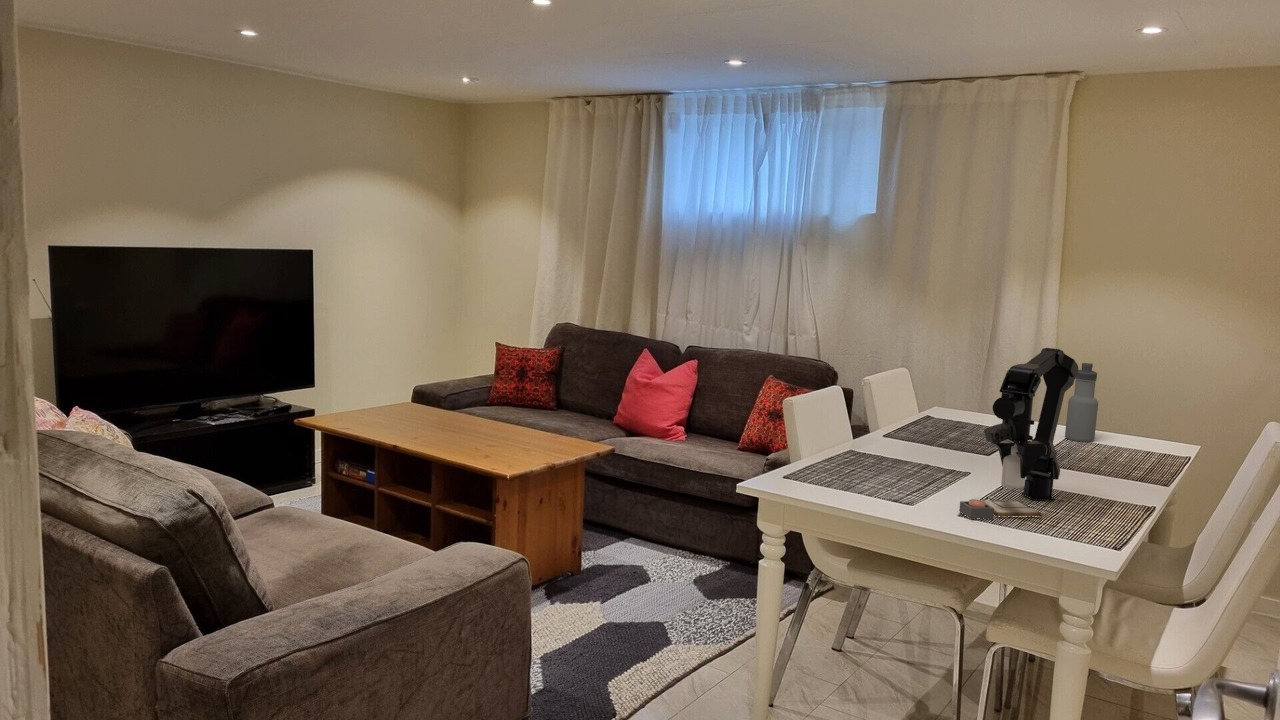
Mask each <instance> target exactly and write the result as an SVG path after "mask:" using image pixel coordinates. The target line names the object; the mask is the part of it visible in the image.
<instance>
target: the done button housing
mask: <svg viewBox="0 0 1280 720" xmlns="http://www.w3.org/2000/svg"><path fill="white" fill-rule="evenodd" d="M958 509H959V511H960V512H962V513H963V514H965V515H966V516H968V517H969V518H971V519H973V518H975V519H977V518H980V519H983V518H985V519H988V518H989V519H993V520H994V516H993V513H994V508H993V507H991V506H989V505H988V504H986V503H985V508H973V507H971V506H969V500H968V501H967V500H966V501H964V500H961V501H960V502H959V508H958ZM959 511H958V512H959Z"/></svg>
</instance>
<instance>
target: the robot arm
mask: <svg viewBox="0 0 1280 720" xmlns="http://www.w3.org/2000/svg"><path fill="white" fill-rule="evenodd" d="M1079 370H1080V369H1079V365H1078V363H1077V362H1076V360H1075V359H1074V358H1072V357H1071V356H1069V355H1067V354H1066V353H1065V352H1064V351H1063V350H1062V349H1060V348H1055V347H1054V348H1053V347H1052V348H1051V347H1044V348H1042V349H1041V350H1040V352H1039V353H1038V354H1037V355H1035V356H1034V357H1033V358H1031V359H1030V360H1029V361H1027V362H1025V363H1018V364H1017V363H1016V364H1015V365H1012V366H1010V368H1009V369H1008V370H1007V371H1006V373H1005V376H1004V378H1003V381H1002V383H1001V386H1000V389H999V393H1001V397H999V398H997V399H995V400H994V402H993V404H992V412H993V414H994V416H995V417H996V418H998V419H999V420H1001V421H1002V423H998V424H994V425H992V426H988V427H987V428H984V429H983V432H984V436H985V440H986V442H988V443H991V444H992V445H994V446H995V447H996V448H997V449H998V453H999V454H998V455H999V457H1000V462H1001V466H1002V468H1003V460H1004V457H1006V456H1008V455H1011V447H1012V446H1014V445H1015V443H1016V445H1017V450H1018V452H1016V454H1017V455H1018V456H1019V458H1020V476H1021V478H1025V486H1024V488H1023V491H1021V493H1022V494H1021V495H1023V494H1024V495H1026V496H1028V497H1030V498H1032V499H1035V500H1034V501H1055V500H1056V498H1055V497H1054V496H1053V488H1054V481H1055V480H1059V477H1060V474H1061V468H1060V465H1059V462H1058V460H1057V455H1058V453H1057V450H1056V448H1055V445H1054V440H1055V436H1056V431H1057V427H1058V422H1059V419H1060V414H1061V411H1062V405H1063V402H1064V397H1065V393H1066V392H1067V391H1068V390H1069V389H1070V388H1071V387H1072V386H1073V385H1075V381H1076V379H1075V377H1077V375H1078V371H1079ZM1041 377H1042V379H1043V381H1044V384H1045V387H1046V389H1045V394H1044V397H1043V401H1042V407H1041V410H1040V415H1039V419H1038V424H1037V427H1036V432H1035V436H1033V435H1031V426H1033V425H1035V420H1033V419H1032V412H1033V402H1034V398H1035V397H1036V392H1037V390H1038V388H1039V386H1040V384H1041V381H1042V379H1041ZM1024 495H1023V496H1024ZM1026 496H1025V497H1026ZM1028 497H1027V498H1028ZM1030 498H1029V499H1030ZM1032 499H1031V500H1032ZM1036 499H1037V500H1036Z"/></svg>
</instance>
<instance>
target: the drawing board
mask: <svg viewBox="0 0 1280 720" xmlns="http://www.w3.org/2000/svg"><path fill="white" fill-rule="evenodd" d="M983 501H984V502H985V503H986V504H988V505H989V506H991V507H993V508H994V513H993V514H994V515H995V516H1000V517H1002V516H1007V517H1008V516H1041V517H1042V512H1040V511H1038V510H1037V509H1034V508H1032V507H1031V506H1030V505H1027V504H1026V503H1024V502H1022V501H1020V500H983ZM995 516H994V517H995Z"/></svg>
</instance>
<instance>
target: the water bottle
mask: <svg viewBox="0 0 1280 720" xmlns="http://www.w3.org/2000/svg"><path fill="white" fill-rule="evenodd" d="M1093 367H1094V364H1093V363H1089V362H1088V363H1087V362H1082V363H1081V369H1079V371H1078V375H1077V377H1075V380H1074V392H1073V395H1072V396H1070V397H1069V398H1068V402H1067V411H1066V412H1067V413H1066V421H1065V430H1064V437H1065V438H1066V439H1067V440H1070V441H1073V442H1079V441H1080V442H1081V443H1091V442H1093V441H1094V440H1095V439H1096V438H1095V437H1096V436H1095V435H1096V427H1097V420H1098V409H1099V400H1098V399H1097V398H1096V397H1095V391H1096V390H1095V389H1096V382H1097V380H1098V379H1097V378H1098V372H1096V371H1094V370H1093ZM1080 442H1079V443H1080Z"/></svg>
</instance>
